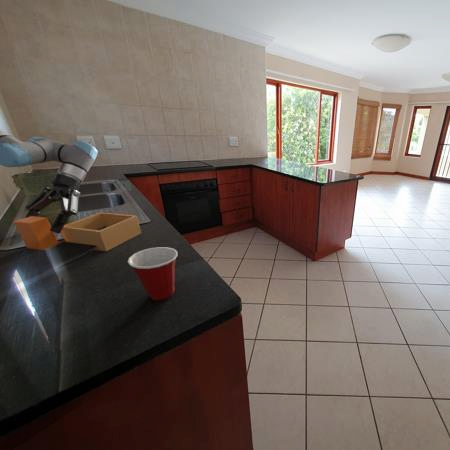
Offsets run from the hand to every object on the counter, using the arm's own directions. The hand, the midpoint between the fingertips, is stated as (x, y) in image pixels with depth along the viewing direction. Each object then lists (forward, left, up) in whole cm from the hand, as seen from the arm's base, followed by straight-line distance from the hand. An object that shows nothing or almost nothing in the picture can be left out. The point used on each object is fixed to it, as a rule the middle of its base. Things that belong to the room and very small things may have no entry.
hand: (39, 230), depth 82 cm
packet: (0, -1, -7) cm, 8 cm away
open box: (+13, +11, -8) cm, 19 cm away
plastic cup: (+58, -12, -8) cm, 60 cm away
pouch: (-15, +15, -8) cm, 23 cm away
